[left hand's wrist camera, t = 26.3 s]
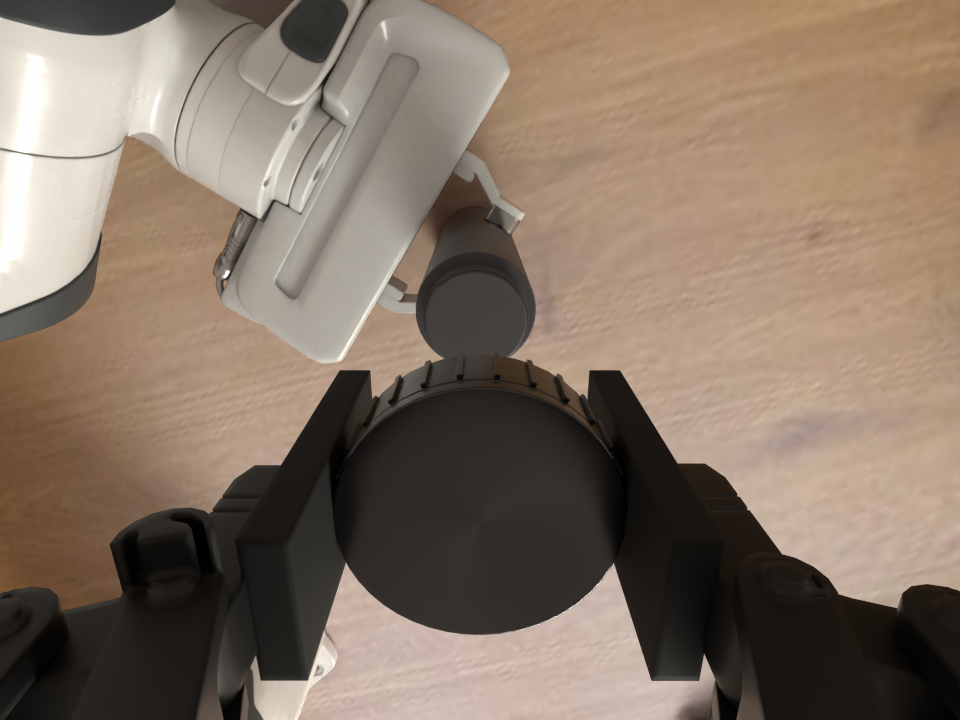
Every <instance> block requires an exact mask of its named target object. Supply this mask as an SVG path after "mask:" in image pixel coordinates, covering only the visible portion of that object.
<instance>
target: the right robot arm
mask: <svg viewBox="0 0 960 720" xmlns="http://www.w3.org/2000/svg"><path fill="white" fill-rule="evenodd" d="M509 74H510V67H509V62H508V58H507V55H506V52H505V50H504V48H503V47H502V46H501V45H500V44H499V43H497V42H496V41H495V40H493V39H492V38H490V37H489V36H488V35H486V34H484V33H483V32H481V31H480V30H478V29H477V28H475V27H473V26H472V25H470V24H468V23H467V22H465V21H463V20H461V19H460V18H458V17H456V16H454V15H452V14H451V13H449V12H447V11H445V10H443V9H441V8H439V7H437V6H435V5H433V4H431V3H428V2H426V1H424V0H294V1H293V2H292V3H291V4H290V5H289V6H288V7H287V8H286V9H285V10H284V11H283V12H282V13H281V15H280V16H279V17H278V18H277V19H276V20H275V21H274V22H273V23H272V24H271V25H270V26H269V27H268V28H267V29H266V28H264V27H263V26H261V25H260V24H258V23H257V22H255V21H253V20H251V19H249V18H246V17H244V16H241V15H237V14H234V13H231V12H228V11H226V10H224V9H222V8H220V7H218V6H216V5H215V4H213V3H212V2H211V1H210V0H0V342H1V341H5V340H9V339H13V338H16V337H20V336H23V335H27V334H30V333H33V332H36V331H39V330H42V329H44V328H47V327H50V326H52V325H54V324H56V323H59V322H61V321H63V320H64V319H66V318H68V317H69V316H71V315H72V314H74V313H75V312H76V311H78V310H79V309H80V308H81V307H82V306H83V305H84V304H85V303H86V301H87V300H88V299H89V297H90V295H91V293H92V291H93V288H94V285H95V278H96V271H97V265H98V258H99V251H100V245H101V238H102V232H101V229H102V225H103V221H104V218H105V214H106V210H107V207H108V203H109V199H110V195H111V192H112V188H113V184H114V180H115V177H116V173H117V169H118V165H119V162H120V158H121V154H122V150H123V147H124V143H125V139H126V135H127V136H131V137H134V138H136V139H138V140H141V141H143V142H145V143H146V144H148V145H150V146H151V147H152V148H154V149H155V150H156V151H157V152H158V153H160V154H161V155H162V156H163V157H164V158H165V160H166V161H167V162H168V163H169V164H171V165H172V166H173V167H174V168H175V169H176V170H178V171H179V172H181V173H182V174H184V175H186V176H187V177H189V178H191V179H192V180H194V181H196V182H197V183H199V184H201V185H202V186H204V187H206V188H208V189H209V190H211V191H213V192H214V193H216V194H218V195H219V196H221V197H223V198H224V199H226V200H228V201H230V202H231V203H233V204H235V205H236V206H238V207H240V211H239V212H238V214H237V217H236V219H235V222H234V224H233V226H232V228H231V230H230V233H229V236H228V240H227V242H226V245H225V248H224V249H223V252H222V253H220V255H219V256H218V258H217V260H216V262H215V265H214V269H213V274H214V275H215V276H216V277H217V278H216V288H217V292H218V294H219V296H220V298H221V301H222V303H223V304H224V305H225V306H226V307H228V308H229V309H231V310H232V311H234V312H236V313H238V314H240V315H241V316H243V317H245V318H247V319H249V320H251V321H254V322H259V323H261V324H262V325H264V326H265V327H266V328H267V329H269V330H270V331H271V332H273V333H274V334H275V335H276V336H278V337H279V338H281V339H282V340H283V341H285V342H286V343H288V344H289V345H291V346H292V347H294V348H295V349H297V350H298V351H300V352H301V353H303V354H304V355H306V356H308V357H309V358H311V359H313V360H314V361H316V362H319V363H323V364H325V363H335V362H340V361H342V360H343V358H344V357H345V355H346V354H347V352H348V351H349V349H350V347H351V346H352V344H353V342H354V340H355V339H356V337H357V335H358V334H359V332H360V330H361V329H362V327H363V325H364V323H365V322H366V320H367V318H368V316H369V315H370V313H371V311H372V309H373V308H374V306H375V304H376V303H378V304H379V305H381V306H383V307H384V308H386V309H388V310H389V311H391V312H393V313H416V301H417V295H418V294H406V293H405V291H406V289H407V287H408V286H407V284H406V283H404V282H403V281H401V280H399V279H398V278H396V277H394V276H393V274H394V272H395V270H396V268H397V267H398V265H399V263H400V262H401V260H402V258H403V256H404V255H405V253H406V251H407V250H408V248H409V246H410V244H411V243H412V241H413V239H414V238H415V236H416V234H417V232H418V231H419V229H420V227H421V226H422V224H423V222H424V220H425V219H426V217H427V215H428V214H429V212H430V210H431V208H432V207H433V205H434V203H435V202H436V200H437V198H438V196H439V195H440V193H441V191H442V190H443V188H444V186H445V184H446V183H447V181H448V179H449V178H450V176H451V174H452V172H453V173H454V174H456V175H457V176H459V177H460V178H462V179H464V180H465V181H467V182H468V183H469V182H472V180H473V178H474V177H475V174H476V175H477V177H478V179H479V181H480V183H481V184H482V186H483V188H484V190H485V192H486V194H487V196H488V198H489V200H490V202H491V204H492V205H491V207H490V208H489V210H488V212H487V213H486V215H485V217H486V220H488V221H489V222H491V223H492V224H494V225H500V226H501V228H502V230H504V231H505V232H506V233H508V234H510V235H512V233H513V232H514V230H515V229H516V227H517V226H518V224H519V223H520V221H521V220H522V218H523V216H524V215H525V212H524V211H523V210H522V209H520V208H519V207H518V206H516V205H515V204H513V203H511V202H510V201H508V200H507V199H505V198H504V197H502V196H501V195H500V192H499V190H498V188H497V186H496V184H495V182H494V180H493V178H492V176H491V174H490V172H489V170H488V168H487V166H486V164H485V162H484V160H482V159H481V158H479V157H478V156H476V155H475V154H473V153H472V152H470V151H469V150H467V147H468V145H469V143H470V142H471V140H472V138H473V137H474V135H475V133H476V131H477V130H478V128H479V126H480V125H481V123H482V121H483V120H484V118H485V116H486V115H487V113H488V111H489V109H490V108H491V106H492V104H493V103H494V101H495V99H496V97H497V96H498V94H499V92H500V91H501V89H502V87H503V85H504V84H505V82H506V80H507V79H508V77H509ZM228 279H229V280H228ZM224 280H228V282H227V284H226V286H225V288H224V285H223V282H224ZM337 658H338V652H337V650H336V648H335V646H334V644H333V643H332V642H331V640H330V639H329V637H328V636H327V635H326V633H325V630H324V632H323V635H322V639H321V642H320V645H319V648H318V651H317V654H316V657H315V660H314V664H313V667H312V670H311V673H310V676H309V679H308V681H261V680H260V675H259V669H258V664H257V659H256V656H255V658H254V661H253V663H252V665H251V667H250V670H249V672H248V674H247V677H246V679H245V684H246V689H247V695H248V702H249V706H248V716H247V720H298V717H299V714H300V711H301V709H302V706H303V703H304V701H305V698H306V695H307V692H308V690H309V688H310V687H311V686H313V685H314V684H315V683H316V682H317V681H318V680H320V679H321V678H322V677H323V676H324V675H325V674H326V673H328V672H329V671H330V670H331V669H332V668H333V667H334V665H335V662H336V660H337Z"/></svg>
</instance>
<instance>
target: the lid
mask: <svg viewBox="0 0 960 720" xmlns="http://www.w3.org/2000/svg"><path fill="white" fill-rule="evenodd" d="M614 450H615V449H614V446H613V444H612V442H611V440H610V437H609V435H608V433H607V431H606V428H605V426H604V424H603V422H602V420H601V419H599V420H597V419H596V417H595V415H594V414H593V412H592V410H591V408H590V406H589V403H588V401H587V399H586V397H585V396H584V394H582V395H581V396H579V395H578V394H577V392H576V391H574V390H573V389H572V388H571V387H570V386H568V385H567V384H566V383H565V382H564V381H563V378H562V376H561V375H559V374H557V375H556V376H554V375H553V374H551V373H550V372H548V371H546V370H544V369H541V368H539V367H537V366H535V365H533V362H532V361H531V360H527V361H526V362H523V361H520V360H517V359H513V358H507V357H502V356H499V353H495V352H494V353H493V355H467V356H464V353H459V355H458V357H453V358H448V359H443V360H440V361H436V362H433V363H431V361H430V360H429V361H427V362H425V366H423V367H421V368H419V369H416V370H414V371H412V372H410V373H409V374H407V375H405V376H404V377H401V375H399V376H398V377H396V379H395V382H394V384H393V385H391V386H390V387H389V388H388V389H387V390H386V391H384V392H383V393H382V394H381V396H380V397H379V398H378V397H377V396H375V397H374V398H373V399H372V401H371V404H370V406H369V408H368V411H367V413H366V415H365V417H364V418H363V420H362V422H361V421H357V423H356V426H355V428H354V430H353V432H352V435H351V437H350V439H349V441H348V444H347V446H346V448H345V450H344V452H345V453H346V456H345V458H344V460H343V463H342V465H341V467H340V470H339V472H338V474H337V477H336V481H337V484H336V487H335V492H334V500H333V518H334V527H335V533H336V538H337V541H338V544H339V547H340V550H341V553H342V555H343V557H344V559H345V561H346V563H347V565H348V566H349V568H350V570H351V571H352V573H353V574H354V575H355V577H356V578H357V580H358V581H359V582H360V583H361V584H362V585H363V586H364V588H365V589H366V590H367V591H368V592H369V593H370V594H371V595H372V596H374V597H375V598H376V599H377V600H378V601H380V602H381V603H382V604H383V605H385V606H386V607H388V608H389V609H391V610H393V611H394V612H396V613H397V614H399V615H401V616H403V617H405V618H407V619H409V620H411V621H413V622H416V623H419V624H421V625H424V626H427V627H430V628H434V629H438V630H442V631H446V632H452V633H459V634H471V635H489V634H501V633H508V632H514V631H518V630H522V629H526V628H530V627H533V626H536V625H538V624H541V623H544V622H546V621H549V620H551V619H553V618H555V617H557V616H559V615H561V614H563V613H564V612H566V611H567V610H569V609H570V608H572V607H573V606H575V605H576V604H578V603H579V602H580V601H581V600H583V599H584V598H585V597H586V596H587V595H588V594H590V593H591V592H592V591H593V590H594V588H595V587H596V586H597V585H598V584H599V583H600V582H601V581H602V580H603V578H604V577H605V575H606V574H607V572H608V571H609V569H610V568H611V566H612V564H613V563H614V561H615V559H616V557H617V555H618V553H619V550H620V547H621V544H622V541H623V538H624V533H625V524H626V514H627V500H626V493H625V487H624V484H623V477H624V475H623V473H622V470H621V468H620V466H619V463H618V461H617V459H616V457H615V454H614V452H613V451H614Z"/></svg>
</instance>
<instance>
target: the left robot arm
mask: <svg viewBox="0 0 960 720" xmlns="http://www.w3.org/2000/svg"><path fill="white" fill-rule="evenodd" d="M371 401H372V391H371V377H370V370H340V371H339V373H338V374H337V376H336V377H335V379H334V381H333V382H332V384H331V385H330V387H329V389H328V390H327V392H326V394H325V395H324V397H323V398H322V400H321V402H320V403H319V405H318V406H317V408H316V410H315V411H314V413H313V415H312V416H311V418H310V419H309V421H308V423H307V424H306V426H305V427H304V429H303V431H302V432H301V434H300V436H299V437H298V439H297V440H296V442H295V444H294V445H293V447H292V448H291V450H290V452H289V453H288V455H287V457H286V458H285V460H284V461H283V463H282V465H255V466H253V467H252V468H250V469H249V470H247V471H246V472H245V473H243V474H242V475H240V476H239V477H237V478H236V479H234V481H233V482H232V484H231V485H230V486H229V488H228V489H227V490H226V492H225V493H224V494H223V498H222V499H220V500H219V501H218V503H217V504H216V505H215V507H214V508H213V512H210V514H208V513H206V512H205V511H202V510H198V509H194V508H177V509H169V510H165V511H161V512H157V513H153V514H151V515H149V516H146V517H144V518H142V519H139V520H137V521H135V522H133V523H132V524H130V525H129V526H128V527H126V528H125V529H123V530H122V531H120V532H119V533H118V534H117V536H116V537H115V538H114V539H113V541H112V542H111V543H110V547H111V551H112V555H113V558H114V562H115V565H116V569H117V573H118V576H119V580H120V583H121V587H122V591H123V593H122V596H121V597H119V598H116V599H112V600H109V601H105V602H100V603H96V604H91V605H87V606H82V607H78V608H73V609H69V610H64V611H63V610H62V607H61V604H60V601H59V598H58V596H57V595H56V594H55V593H54V592H52V591H51V590H50V589H46V588H39V587H28V588H22V589H15V590H11V591H8V592H4V593H2V594H0V720H247V716H248V706H249V702H248V695H247V689H246V684H245V679H246V677H247V674H248V672H249V670H250V667H251V665H252V663H253V661H254V658H255V656H256V659H257V664H258V669H259V675H260V680H261V681H308V679H309V676H310V673H311V670H312V667H313V664H314V660H315V657H316V654H317V651H318V648H319V645H320V642H321V639H322V635H323V632H324V629H325V626H326V623H327V620H328V617H329V614H330V610H331V607H332V604H333V601H334V598H335V595H336V592H337V589H338V585H339V582H340V579H341V576H342V573H343V570H344V567H345V564H346V561H345V559H344V557H343V555H342V553H341V550H340V547H339V544H338V541H337V538H336V533H335V527H334V518H333V500H334V492H335V487H336V484H337V481H336V477H337V474H338V472H339V470H340V467H341V465H342V463H343V460H344V458H345V456H346V453H345V452H344V450H345V448H346V446H347V444H348V441H349V439H350V437H351V435H352V432H353V430H354V428H355V426H356V423H357V421H361V422H362V420H363V418H364V417H365V415H366V413H367V411H368V408H369V406H370V404H371ZM587 401H588V403H589V406H590V408H591V410H592V412H593V414H594V415H595V417H596V419H597V420H599V419H601V420H602V422H603V424H604V426H605V428H606V431H607V433H608V435H609V437H610V440H611V442H612V444H613V446H614V449H615V450H614V451H613V452H614V454H615V457H616V459H617V461H618V463H619V466H620V468H621V470H622V473H623V475H624V477H623V484H624V487H625V493H626V500H627V514H626V524H625V533H624V538H623V541H622V544H621V547H620V550H619V553H618V555H617V557H616V559H615V561H614V565H615V568H616V571H617V574H618V577H619V580H620V583H621V587H622V590H623V593H624V596H625V599H626V602H627V605H628V608H629V612H630V615H631V618H632V621H633V624H634V627H635V630H636V633H637V637H638V640H639V643H640V646H641V649H642V652H643V655H644V658H645V662H646V665H647V668H648V671H649V674H650V677H651V680H652V681H699V678H700V673H701V667H702V662H703V656H704V654H705V656H706V659H707V661H708V663H709V665H710V668H711V670H712V672H713V675H714V677H715V684H714V689H713V694H712V699H711V704H710V710H709V715H708V720H960V591H958V590H955V589H951V588H948V587H942V586H936V585H929V584H925V585H918V586H911V587H910V588H909V589H907V590H906V591H905V592H904V593H903V594H902V597H901V600H900V603H899V606H898V608H893V607H889V606H884V605H880V604H875V603H871V602H866V601H862V600H857V599H853V598H849V597H846V596H842V595H839V594H838V592H837V590H836V589H835V588H834V586H833V585H832V583H831V582H830V580H829V579H828V578H827V577H826V576H824V575H823V574H822V573H821V572H819V571H818V570H817V569H816V568H814V567H813V566H811V565H809V564H807V563H805V562H803V561H801V560H799V559H797V558H794V557H790V556H786V555H783V554H781V552H780V551H779V550H778V548H777V547H776V546H775V544H774V543H773V541H772V540H771V539H770V537H769V536H768V535H767V533H766V532H765V531H764V529H763V528H762V527H761V525H760V524H759V522H758V521H757V520H756V518H755V517H754V516H753V514H752V513H751V512H750V510H747V506H746V505H745V503H744V502H743V501H742V499H741V498H740V497H737V493H736V491H735V490H734V489H733V487H732V486H731V484H730V483H729V482H728V480H727V479H726V478H725V477H724V476H722V475H721V474H720V473H718V472H717V471H715V470H714V469H712V468H711V467H709V466H708V465H706V464H677V462H676V460H675V459H674V457H673V456H672V454H671V452H670V451H669V449H668V447H667V446H666V444H665V443H664V441H663V439H662V438H661V436H660V435H659V433H658V431H657V430H656V428H655V426H654V425H653V423H652V422H651V420H650V418H649V417H648V415H647V414H646V412H645V410H644V409H643V407H642V405H641V404H640V402H639V401H638V399H637V397H636V396H635V394H634V393H633V391H632V389H631V388H630V386H629V384H628V383H627V381H626V380H625V378H624V376H623V375H622V373H621V372H620V370H590V372H589V386H588V399H587Z"/></svg>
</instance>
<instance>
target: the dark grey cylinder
mask: <svg viewBox="0 0 960 720" xmlns="http://www.w3.org/2000/svg"><path fill="white" fill-rule="evenodd" d="M488 210H489V209H487V208H483V207H469V208H465V209H462V210H460V211H458V212H456V213H455V214H453V215H452V216H451V217H450V218H449V219H448V221H447V222H446V223H445V225H444V227H443V229H442V232H441V234H440V237H439V239H438V242H437V245H436V247H435V250H434V252H433V255H432V258H431V260H430V263H429V266H428V268H427V271H426V273H425V276H424V279H423V281H422V284H421V286H420V289H419V292H418V295H417V301H416V319H417V323H418V327H419V329H420V332H421V334H422V336H423V338H424V340H425V341H426V342H427V344H428V345H429V346H430V347H431V348H432V349H433V350H434V351H435V352H436V353H437V354H438V355H440V356H441V357H443V358H444V359H448V358H453V357H458V355H459V353H464V356H467V355H493V353H494V352H495V353H499V356H502V357H507V358H509V357H511V356H512V355H513V354H514V353H516V352H517V351H518V350H519V349H520V348H521V347H522V346H523V344H524V343H525V342H526V340H527V339H528V337H529V335H530V333H531V331H532V328H533V325H534V321H535V314H536V304H535V298H534V294H533V291H532V288H531V285H530V283H529V280H528V277H527V275H526V272H525V269H524V267H523V264H522V262H521V259H520V256H519V254H518V251H517V249H516V246H515V243H514V241H513V238H512V235H510V234H508V233H506V232H505V231H504V230H502V228H501V226H500V225H494V224H492V223H491V222H489V221H488V220H486V217H485V215H486V213H487V212H488Z"/></svg>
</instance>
